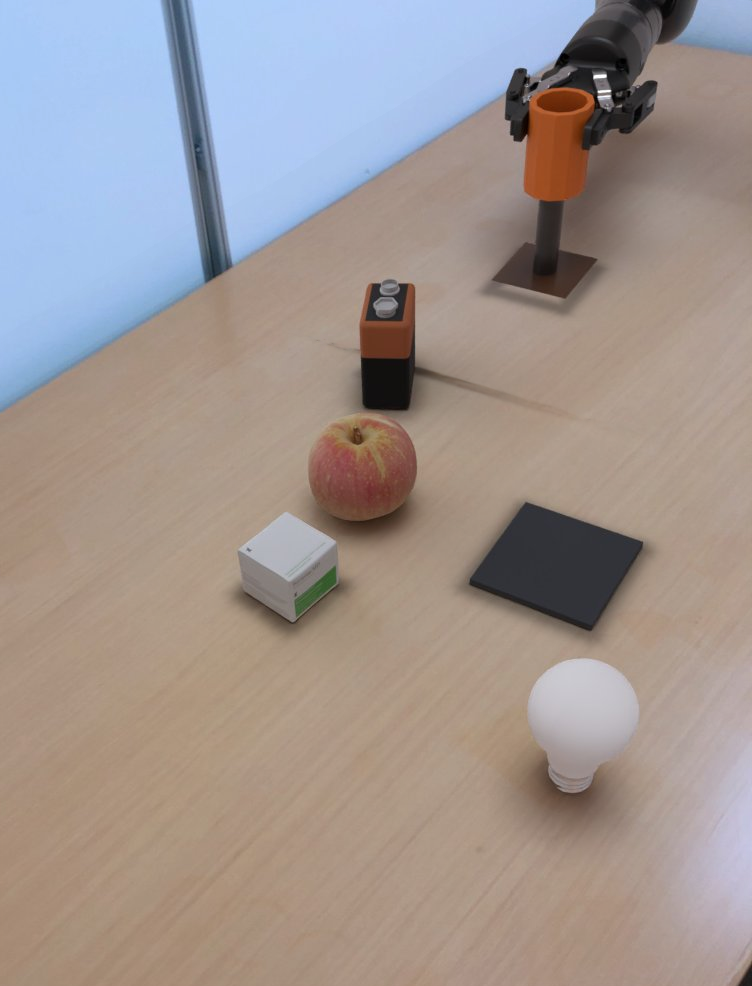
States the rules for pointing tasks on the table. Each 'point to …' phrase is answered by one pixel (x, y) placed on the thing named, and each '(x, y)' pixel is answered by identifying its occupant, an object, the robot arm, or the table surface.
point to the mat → (557, 565)
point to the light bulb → (581, 719)
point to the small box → (289, 566)
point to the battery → (387, 344)
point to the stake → (546, 258)
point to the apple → (362, 466)
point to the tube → (557, 144)
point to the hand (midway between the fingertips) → (551, 135)
